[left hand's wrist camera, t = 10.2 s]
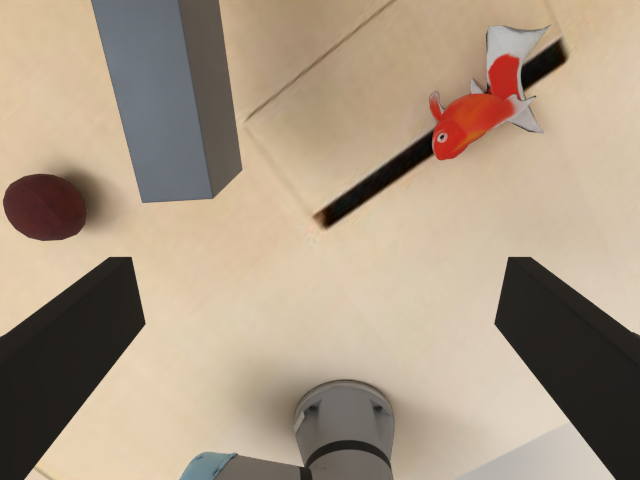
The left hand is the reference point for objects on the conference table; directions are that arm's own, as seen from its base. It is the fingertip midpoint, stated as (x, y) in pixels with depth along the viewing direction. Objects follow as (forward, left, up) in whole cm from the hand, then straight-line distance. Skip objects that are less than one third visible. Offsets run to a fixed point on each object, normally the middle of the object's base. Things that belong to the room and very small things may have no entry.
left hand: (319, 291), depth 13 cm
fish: (+7, -17, -31) cm, 36 cm away
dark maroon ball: (-5, +30, -31) cm, 43 cm away
